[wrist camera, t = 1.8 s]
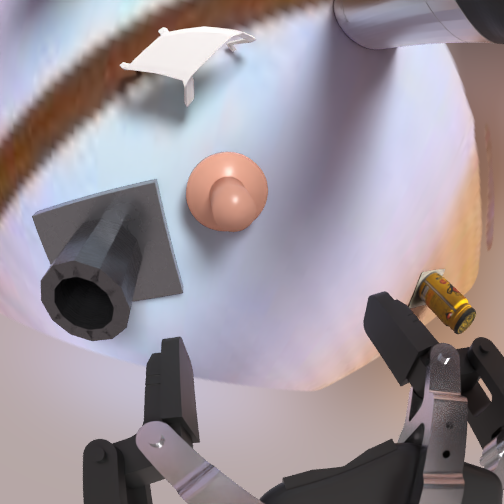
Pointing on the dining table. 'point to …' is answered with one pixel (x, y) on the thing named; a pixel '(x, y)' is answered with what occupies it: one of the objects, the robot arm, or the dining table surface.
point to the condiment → (443, 301)
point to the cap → (226, 191)
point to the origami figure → (184, 53)
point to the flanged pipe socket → (106, 258)
